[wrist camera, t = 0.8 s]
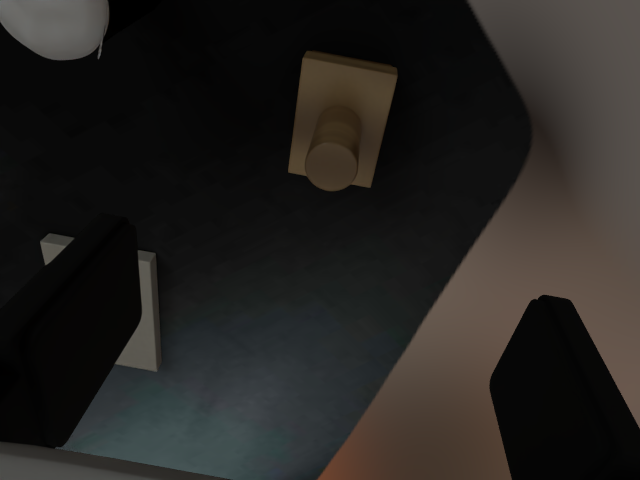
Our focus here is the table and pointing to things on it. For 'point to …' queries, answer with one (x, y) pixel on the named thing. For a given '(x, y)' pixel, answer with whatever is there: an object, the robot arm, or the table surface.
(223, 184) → the table surface
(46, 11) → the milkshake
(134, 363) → the tile
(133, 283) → the robot arm
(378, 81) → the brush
